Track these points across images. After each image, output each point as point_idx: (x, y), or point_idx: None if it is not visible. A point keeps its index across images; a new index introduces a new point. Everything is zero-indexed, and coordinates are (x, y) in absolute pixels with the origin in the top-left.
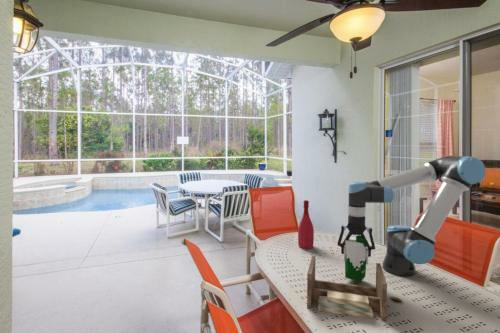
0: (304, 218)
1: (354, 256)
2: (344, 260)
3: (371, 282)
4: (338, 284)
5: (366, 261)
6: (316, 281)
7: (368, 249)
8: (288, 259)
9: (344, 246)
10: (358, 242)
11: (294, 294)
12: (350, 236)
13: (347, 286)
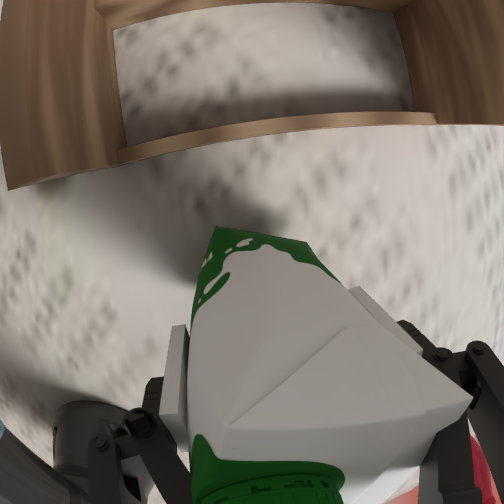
0: (488, 490)
1: (297, 288)
2: (357, 291)
3: (168, 293)
4: (331, 113)
5: (183, 337)
6: (428, 113)
7: (158, 426)
8: (494, 315)
9: None
10: (300, 459)
11: None
12: (440, 490)
13: (280, 118)
